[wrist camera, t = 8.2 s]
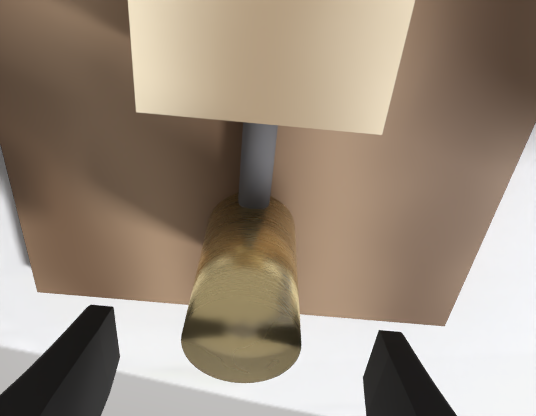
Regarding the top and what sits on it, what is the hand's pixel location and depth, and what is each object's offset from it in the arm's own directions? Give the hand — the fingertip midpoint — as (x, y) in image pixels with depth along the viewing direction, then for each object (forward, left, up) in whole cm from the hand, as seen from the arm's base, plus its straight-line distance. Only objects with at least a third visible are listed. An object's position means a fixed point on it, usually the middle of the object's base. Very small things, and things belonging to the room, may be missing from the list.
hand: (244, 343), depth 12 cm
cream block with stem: (0, -5, -4) cm, 7 cm away
